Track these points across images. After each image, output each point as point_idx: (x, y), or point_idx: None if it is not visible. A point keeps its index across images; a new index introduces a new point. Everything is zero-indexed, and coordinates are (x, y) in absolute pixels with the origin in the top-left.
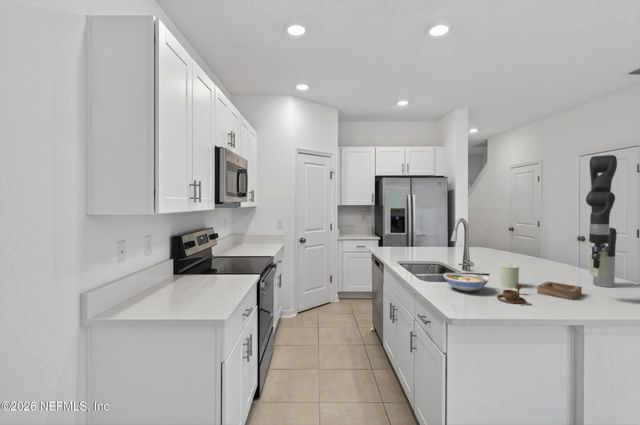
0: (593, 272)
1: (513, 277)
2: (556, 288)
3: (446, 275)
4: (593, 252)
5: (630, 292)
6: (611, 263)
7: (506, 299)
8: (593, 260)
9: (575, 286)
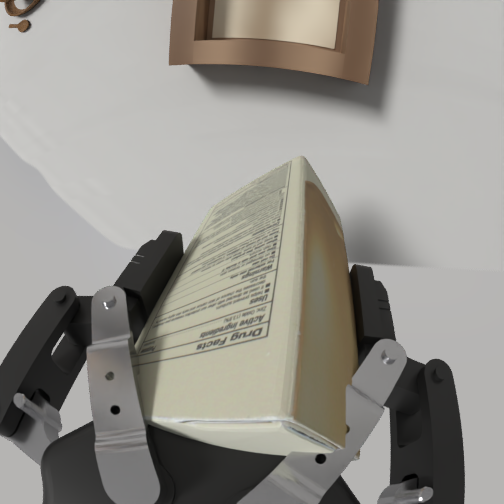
0: (244, 195)
1: None
2: None
3: None
4: (17, 360)
5: (496, 262)
6: None
7: None
8: (127, 283)
9: (355, 53)
